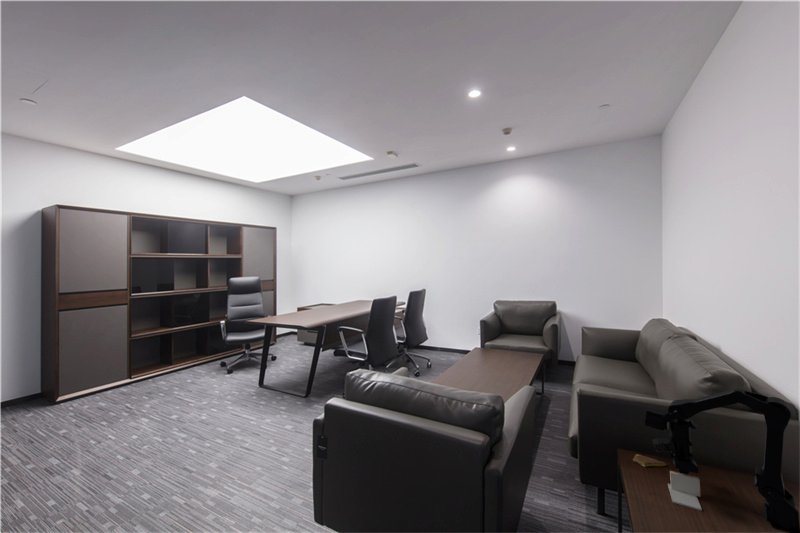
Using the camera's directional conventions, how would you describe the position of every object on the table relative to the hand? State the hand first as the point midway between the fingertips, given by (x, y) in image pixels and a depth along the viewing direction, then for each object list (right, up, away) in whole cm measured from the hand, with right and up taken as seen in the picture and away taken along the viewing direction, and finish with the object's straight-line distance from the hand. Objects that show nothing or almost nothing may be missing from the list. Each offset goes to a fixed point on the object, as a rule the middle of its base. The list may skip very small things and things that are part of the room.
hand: (682, 477), depth 119 cm
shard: (0, -5, +17) cm, 18 cm away
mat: (-4, -4, -5) cm, 7 cm away
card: (-1, -3, -3) cm, 5 cm away
